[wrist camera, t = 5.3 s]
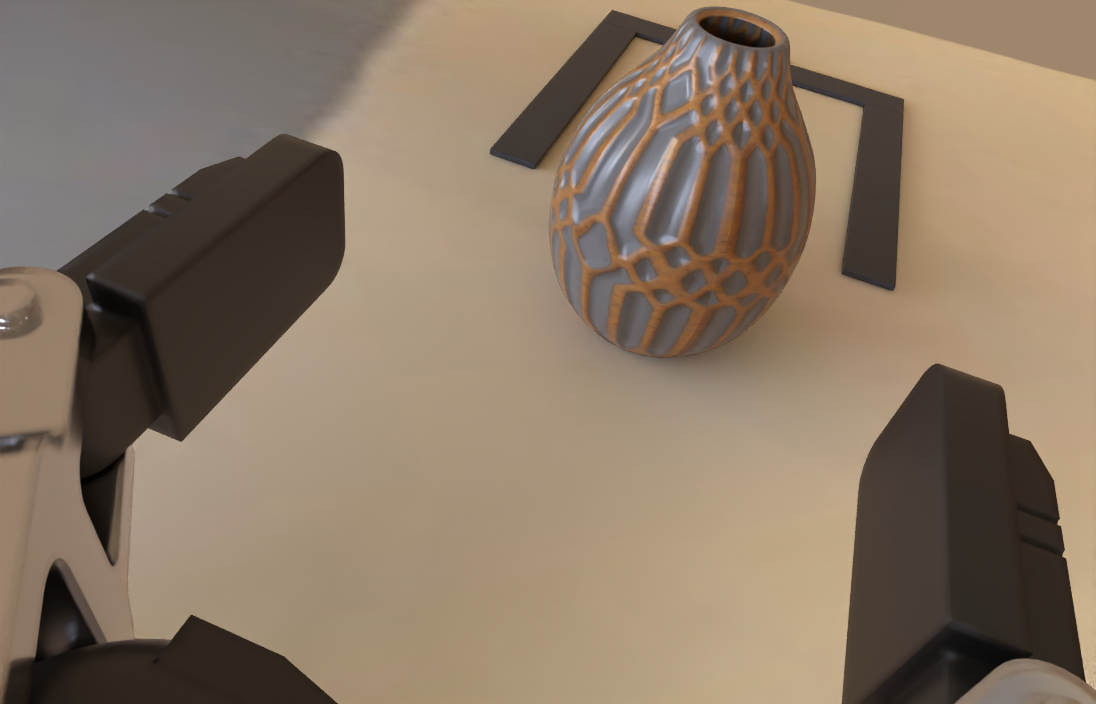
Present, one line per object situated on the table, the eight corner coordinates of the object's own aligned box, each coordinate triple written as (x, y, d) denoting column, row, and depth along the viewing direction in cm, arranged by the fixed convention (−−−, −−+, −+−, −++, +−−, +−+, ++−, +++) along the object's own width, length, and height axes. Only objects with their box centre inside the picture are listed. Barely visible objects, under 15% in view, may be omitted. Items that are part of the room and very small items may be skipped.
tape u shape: (489, 153, 29) (489, 148, 29) (611, 13, 40) (612, 9, 40) (893, 291, 27) (895, 286, 27) (902, 103, 38) (904, 99, 38)
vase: (716, 244, 27) (817, -17, 21) (789, 394, 22) (946, 114, 16) (519, 237, 26) (566, -47, 20) (552, 397, 21) (628, 89, 15)
